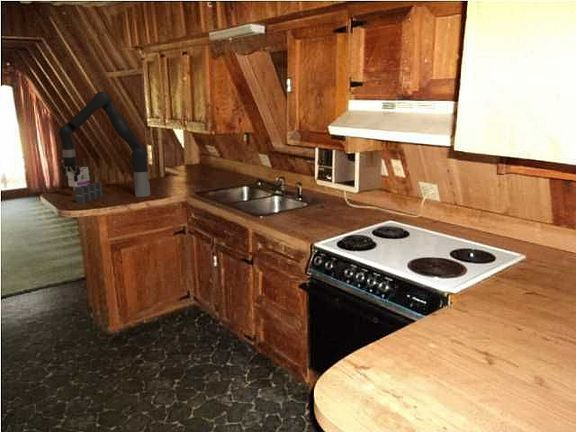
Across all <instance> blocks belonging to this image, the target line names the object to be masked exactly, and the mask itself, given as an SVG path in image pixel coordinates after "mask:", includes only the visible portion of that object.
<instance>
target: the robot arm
mask: <svg viewBox="0 0 576 432" xmlns="http://www.w3.org/2000/svg"><path fill="white" fill-rule="evenodd" d="M99 109H102V110H103V111H104V112H105V114H106V115H107V117H108V119H109V122H110V124H111V126H112V128H113V130H114V131H115V132H116V133H117V135H118V137H120V138H121V139H122V140H123V141H124V142H125V143H126V144H127V145H128V147H129V148H130V149H131V163H132V164H131V165H132V168H133V169H132V170H133V179H134V191H135V192H134V193H135V197H137V198H143V197H144V198H145V197H146V198H147V197H149V196H151V187H150V186H151V185H150V181H149V170H148V169H149V168H148V165H147V158H148V151H147V150H146V148H145V147H144V146H143V145H142V143H141V142H140V141H139V139H138V138H137V136H136V135H135V133H134V131H133V130H132V128H131V127H130V125H129V123H128V122H127V121H126V119H125V118H124V116H123V115H122V114H121V112H120V111H119V110H118V109H117V107H116V105H115V103H114V102H113V100H112V98H111V96H110V95H109V94H108V93H107V92H105V91H98V92H96V93H95V94H94V96H93V97H92V99H91V100H90V101H89V102H88V103H87V104H86V105H85V106H84V107H83V108H82V109H81V110H79V111H78V112H76V113H75V115H74V116H73V117H72V118H71V119H70V120H69V121H68V122H66V123H65V124H64V125H62V126H61V127H60V128H59V131H58V132H59V133H58V134H59V137H60V141H61V146H62V147H61V148H62V159H63V163H64V165H61V166H60V168H61V172H62V173H63V175H64V176H65V177H66V180H67V182H68V175H67V174H68V172H69V171H72V173H73V175H74V181H75V182H76V181H78V175H80V169H81V167H82V166H79V165H77V156H76V150H75V145H74V141H73V139H72V134H74V133H75V132H76V131H77V130H78V129H79V128H81V126H83V124H85V123H86V122H87V121H88V119H89V118H91V116H92V115H93V114H94V113H95V112H96V111H98V110H99ZM75 173H76V174H75Z"/></svg>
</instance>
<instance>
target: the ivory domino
mask: <svg viewBox="0 0 576 432" xmlns="http://www.w3.org/2000/svg"><path fill="white" fill-rule="evenodd" d="M75 174H76V173H75ZM67 175H68V181H67V182H68V186H69V187H72V188H73V187H76V186H77V181H76V182H75V181H74V175H73V173H72V171H69V172H68V174H67Z"/></svg>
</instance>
